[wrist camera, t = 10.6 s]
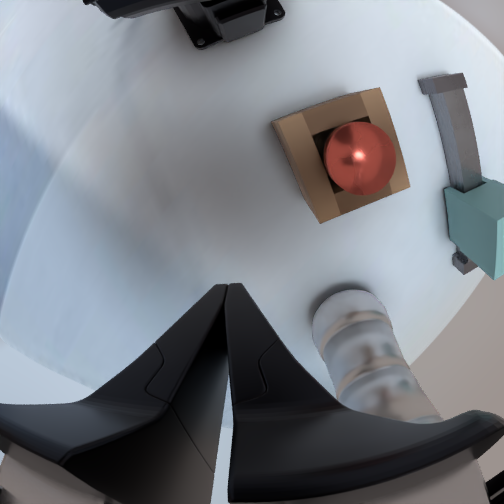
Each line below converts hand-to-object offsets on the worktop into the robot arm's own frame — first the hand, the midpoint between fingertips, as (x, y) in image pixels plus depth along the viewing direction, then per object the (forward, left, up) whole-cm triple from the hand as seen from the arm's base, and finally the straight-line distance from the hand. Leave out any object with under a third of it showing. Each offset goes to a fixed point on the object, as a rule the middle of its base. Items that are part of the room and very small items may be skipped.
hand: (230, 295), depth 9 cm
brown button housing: (-1, +7, -12) cm, 14 cm away
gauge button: (-1, +7, -11) cm, 13 cm away
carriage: (+8, +18, -12) cm, 23 cm away
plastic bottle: (+13, +4, -12) cm, 18 cm away
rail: (+5, +18, -12) cm, 22 cm away
